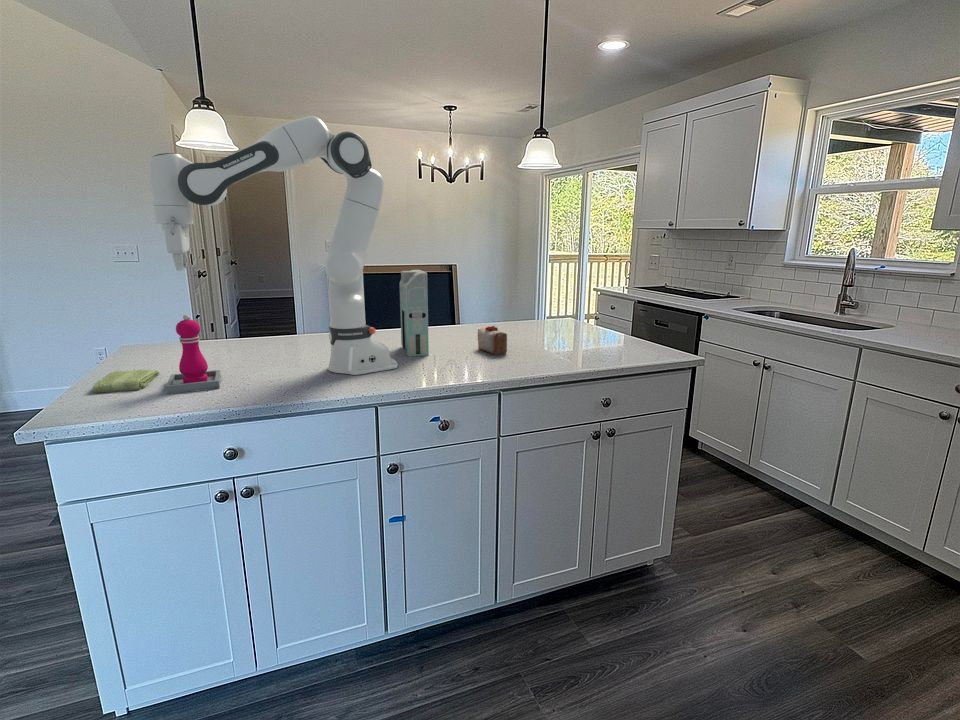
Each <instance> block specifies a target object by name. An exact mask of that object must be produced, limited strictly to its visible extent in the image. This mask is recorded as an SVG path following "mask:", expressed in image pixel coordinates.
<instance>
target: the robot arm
mask: <svg viewBox="0 0 960 720" xmlns="http://www.w3.org/2000/svg"><path fill="white" fill-rule="evenodd" d="M317 158H320V159H321V160H322V161H323V162H324V163H325V164H326V166H328V168H330V169H331V170H332V171H333V172H335V173H338V174H340V175H344V177H345V178H346V190H345V193H344V197H343V200H342V203H341V207H340V210H339V215H338V218H337V222H336V226H335V228H334V232H333V235H332V238H331V242H330V245H329V249H328V252H327V255H326V259H325V263H324V265H325V266H324V268H325V272H326V274H327V280H328V283H327V285H328V309H329V310H328V311H329V322H330V325H329V329H328V336H329V338H328V339H329V344H330V358H329V361H328V362H329V363H328V367H327V370H328V371H329V372H332V373H337V374H348V375H352V376H353V375H354V376H358V375H363V374H369V373H376V372H382V371H388V370H394V369H397V368H398V366H399V363H398V362H397V360H395V358H392V357H391V353H390V350H389V348H388V346H387V345H386V344H385V343H382V341H380V340H378V339H377V338H376V337H374V336H373V335H375V334H376V332H377V330H376V328H375V327H372V326H370V325H368V324H366V310H365V307H366V306H365V288H364V287H365V286H364V267H365V262H366V259H367V256H368V252H369V248H370V245H371V241H372V237H373V234H374V230H375V228H376V227H375V226H376V223H377V219H378V217H379V212H380V209H381V206H382V201H383V196H384V195H383V194H384V185H385V180H384V178H383V176H382V174H380V172H378V171H377V170H376V169H374V168H372V161H371V156H370V151H369V147H368V145H367V142H366V141H365V139H364V138H363V137H362V136H361V135H360V134H358V133H356V132H353V131H342V132H340V133H338V134H336V133H332V131H330V130H329V128H328V127H327V125H326V123H324V121H323V120H322V119H320V118H319V117H318V116H315V115H308V116H304V117H299V118H297V119H293V120H291V121H288V122H285V123H284V124H281V125H279V126H277V127H275V128H273V129H272V130H270V131H269V132H266V133H265V134H263V136H261V137H260V138H259V139H258V140H256V141H254V142H253V143H252V144H250V145H249V146H248V147H246V148H243V149H242V150H240V151H236V152H234V153H232V154H229V155H227V156H226V157H223V158H220V159H219V160H216V161H213V162H211V161H210V162H192V161H190V160H189V159H187V158H185V157H184V156H182V155H181V154H180V153H174V152H166V153H164V152H162V153H157V154H155V155H153V156H152V157H150V158H149V161H148V180H149V181H148V182H149V189H150V190H151V192H152V195H153V203H152V205H153V206H152V208H153V212H154V221H155V223H156V224H157V225H161V227H162V228H161V229H162V231H164V235H165V236H164V238H165V244H166V250H167V253H168V254H172V259H173V263H174V267H175V270H176V271H177V272H178V271H184V269H186V268H187V267H188V264H187V252H189V251H190V225H194V218H193V216H194V215H193V209H192V208H193V207H192V203H193V204H195V205H200V206H208V207H209V206H216V205H219V204H220V203H222V202H223V201H224V200H225V198H226V197H227V195H228V194H227V193H228V188H229V187H230V186H233V185H234V184H237V183H239V182H241V181H243V180H245V179H247V178H249V177H251V176H253V175H256V174H259V173H262V172H263V173H264V172H277V173H281V172H282V173H283V172H286V171H290V170H292V169H295V168H298V167H300V166H302V165H304V164H306V163H308V162H310V161H312V160H314V159H317Z"/></svg>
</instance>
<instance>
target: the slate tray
mask: <svg viewBox="0 0 960 720" xmlns="http://www.w3.org/2000/svg"><path fill="white" fill-rule="evenodd" d="M205 374H206V375H207V378H208V381H204V382H195V383H185V384H184V383H183V377H184V375H183V374H182V373H181V372H180V373H171V374H170V376H169V378H168V379H167V382H166V384H165V391H166V392H165V393H166V395H170V394H169V393H172V394H180V393H179V392H181V393H189V392H188V391H190V392H197V391H196V390H199V391H207V390H206V389H209V390H216V389H215V388H218V389H220V388H221V380H220V379H222V375H221V369H214V370H213V369H212V370H207V371H206V372H205Z"/></svg>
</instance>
